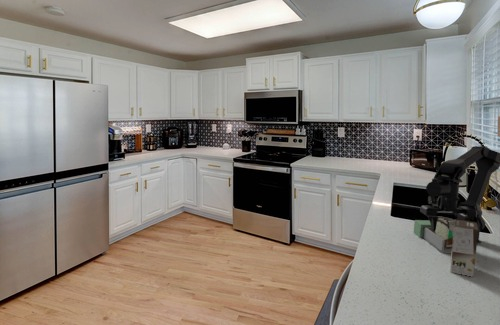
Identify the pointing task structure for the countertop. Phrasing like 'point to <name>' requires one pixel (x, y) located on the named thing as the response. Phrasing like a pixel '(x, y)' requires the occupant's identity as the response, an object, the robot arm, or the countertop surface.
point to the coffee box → (464, 247)
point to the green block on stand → (429, 235)
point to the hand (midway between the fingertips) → (445, 231)
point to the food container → (445, 230)
